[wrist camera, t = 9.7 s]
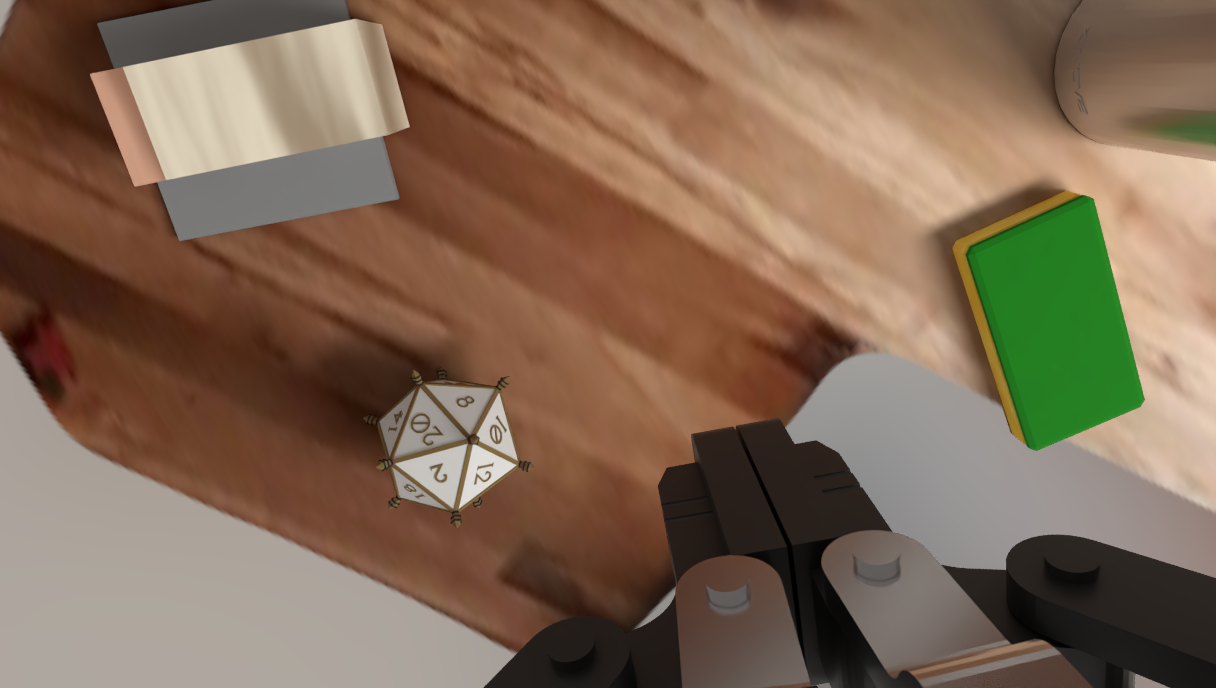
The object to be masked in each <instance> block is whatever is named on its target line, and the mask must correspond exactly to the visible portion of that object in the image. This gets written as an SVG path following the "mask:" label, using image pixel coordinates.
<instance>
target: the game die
mask: <svg viewBox="0 0 1216 688" xmlns="http://www.w3.org/2000/svg"><path fill="white" fill-rule="evenodd" d="M446 373H447V372H446V371H444V370H443V369H442V368H440V369H439V371H437V375H438V379H439V380H432V381H425V382H422V380H423V378H422V376H421V374H420V372H417V371H415V370H413V373H412V377H411V379H413V382H415V383H416V384H417V385H416V386H415V387H414V388H412V389H411V390H410V391H409V392H408V393H407V394H406V395H405V396H404V397H403V398H402V399H401V400H400V401H398V402H397V403H396V404H395V405H394V406H393V407H392V408H391V409H390V410H389V411H388V412H387V413H385V414H384V415H383V416H382V417H381V418H380V419H378V418H376V416H372V414H370V415H369V416H366V417H363V419H364V420H365V421H366V422H367V424H371V425H374V424H376V425H377V426H378V430H379V434H380V437H381V441H382V445H383V448H384V452H385V456H386V459H387V460H386V459H383V460H379V463H378V465H377V466H376V468H378V469H380V470H382V471H383V470H385V469H388V468H389V470H390V474H391V477H392V481H393V485H394V488H395V492H396V497H395V498H394V497H393V498H392V500H390V501H389V506H388V509H392V508H397V505H399V504H400V500H405V501H409V502H413V503H417V504H420V505H424V506H428V507H432V508H435V509H439V510H443V511H447V512H450V513H452V517H451V519H452V521H451V523H452V524H453V525H454V526H455V527H456V528H457V529H458V527H459V525H460V523H461V516H460V515H459V512H460V511H461V510H463V509H464V508H465V507H467V506H468V505H469V504H471V503H472V502H473V505H474V507H478V508H480V506H481V503H482V500H480V499H481V498H480V496H481V495H483V494H484V493H485V492H486V491H488V490H489V489H490V488H492V487H493V486H494V485H496V484H497V483H498V482H500V481H501V480H502V479H504V478H505V477H506V476H508V475H509V474H510V473H512V472H513V471H514V470H515V469H517V468H518V467H520V468H521V469H523V471H524V470H526V471H527V472H528V471H530V470H534V469H535V468H534V467H533V465H532V464H531V462H529V463H528V462H526V461H525V462H521V461H520V458H519V454H518V451H517V447H516V443H515V440H514V436H513V433H512V429H511V426H510V422H509V418H508V415H507V411H506V408H505V404H504V400H503V397H502V393H501V389H502V388H505V387H506V385H508V384H509V383H508V382H509V377H510V376H507V377H504V378H501V379H500V381H498V384H497V386H491V385H484V384H477V383H470V382H462V381H455V380H448V379H445V378H446V377H447V375H446Z"/></svg>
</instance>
